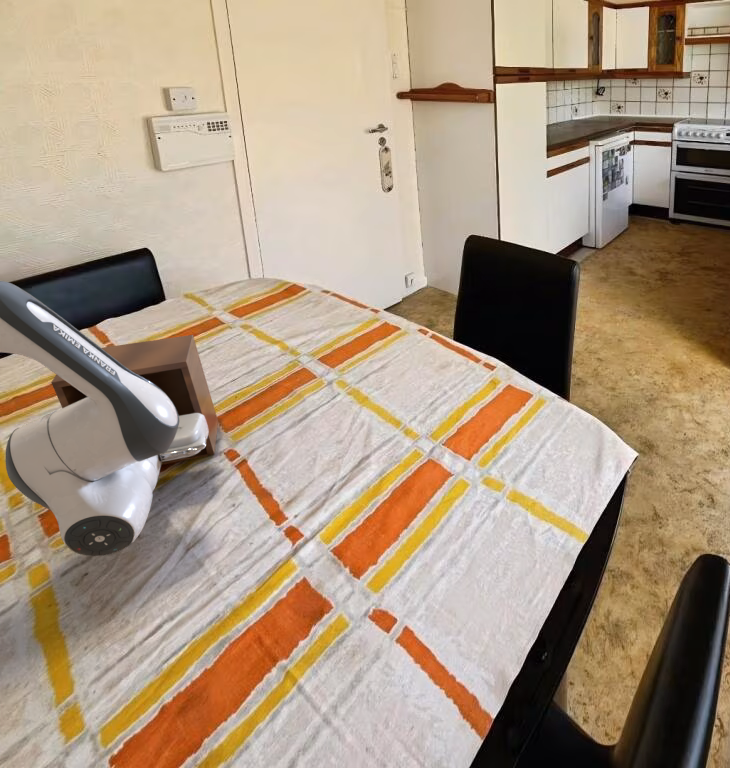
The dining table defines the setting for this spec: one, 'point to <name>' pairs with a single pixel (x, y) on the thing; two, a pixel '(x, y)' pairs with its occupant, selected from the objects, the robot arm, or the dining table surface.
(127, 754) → the dining table surface
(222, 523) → the dining table surface
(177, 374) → the cupboard
